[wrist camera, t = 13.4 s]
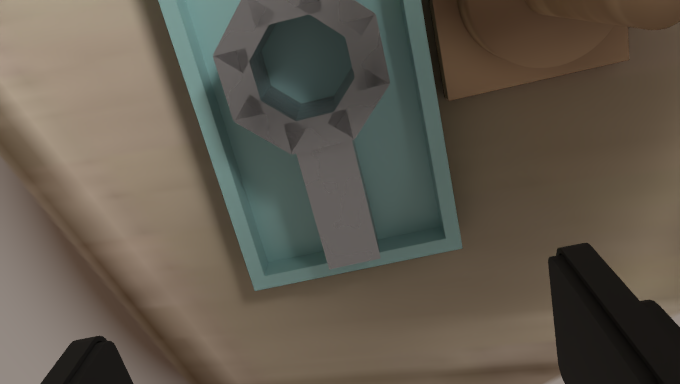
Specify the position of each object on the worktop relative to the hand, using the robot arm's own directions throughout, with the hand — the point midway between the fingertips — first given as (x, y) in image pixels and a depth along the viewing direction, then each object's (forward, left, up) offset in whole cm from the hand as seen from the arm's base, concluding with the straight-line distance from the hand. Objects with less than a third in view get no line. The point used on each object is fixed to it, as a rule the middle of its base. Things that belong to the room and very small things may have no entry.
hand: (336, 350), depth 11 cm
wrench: (-1, 0, -15) cm, 15 cm away
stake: (-5, +9, -16) cm, 19 cm away
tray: (-3, 0, -16) cm, 16 cm away
